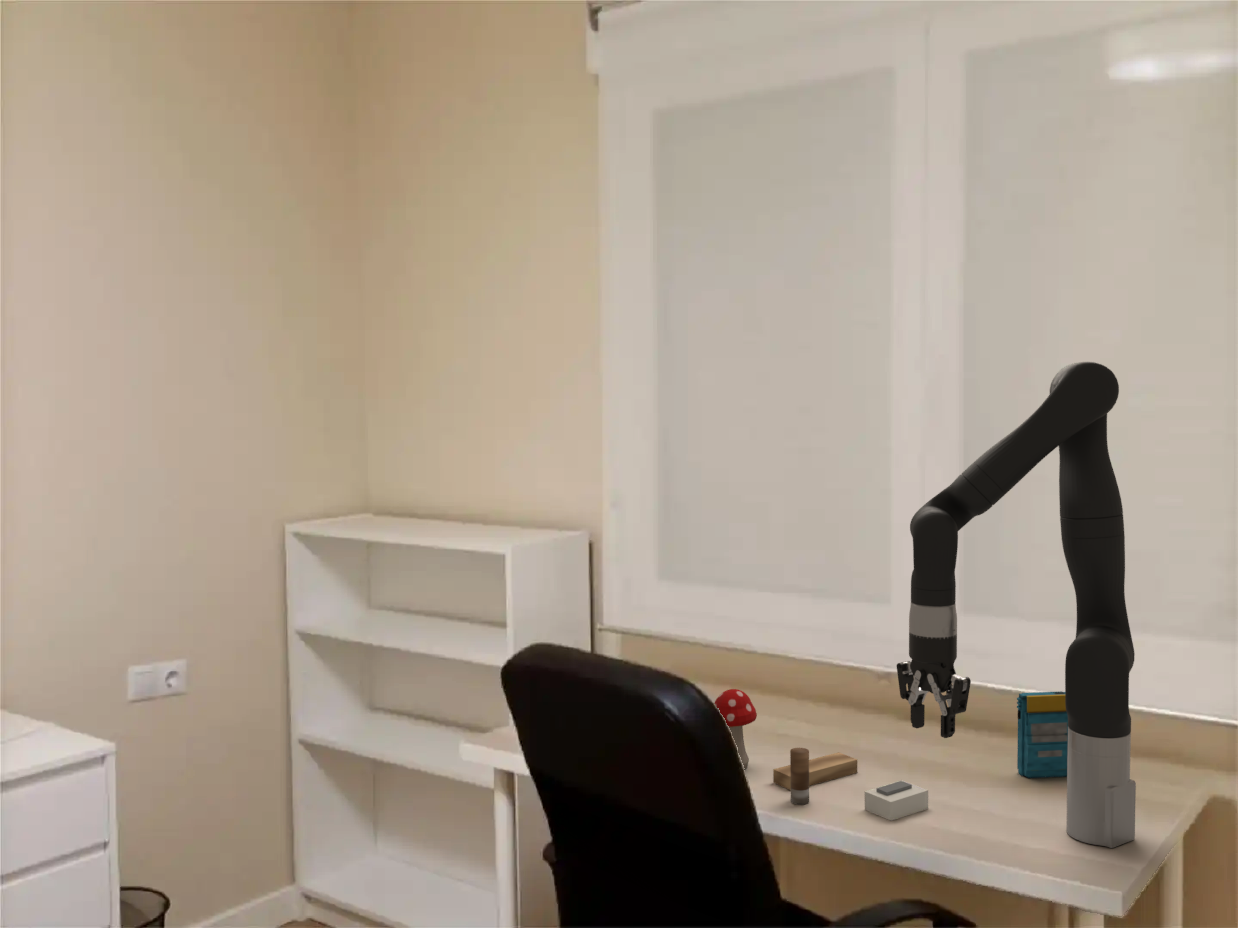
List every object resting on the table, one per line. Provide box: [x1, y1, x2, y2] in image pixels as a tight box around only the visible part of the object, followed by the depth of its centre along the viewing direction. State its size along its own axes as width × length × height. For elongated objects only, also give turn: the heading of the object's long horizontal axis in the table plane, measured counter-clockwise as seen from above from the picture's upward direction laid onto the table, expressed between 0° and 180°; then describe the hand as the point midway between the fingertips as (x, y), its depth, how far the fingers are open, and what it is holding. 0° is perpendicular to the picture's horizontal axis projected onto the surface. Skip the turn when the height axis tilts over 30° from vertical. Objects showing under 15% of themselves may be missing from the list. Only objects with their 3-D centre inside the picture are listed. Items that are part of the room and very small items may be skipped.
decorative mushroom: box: [713, 688, 758, 770], centre depth 215 cm, size 10×9×15 cm
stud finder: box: [864, 779, 929, 821], centre depth 194 cm, size 6×9×4 cm, turn 123°
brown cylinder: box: [789, 747, 810, 806], centre depth 198 cm, size 3×3×9 cm
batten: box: [772, 752, 858, 791], centre depth 210 cm, size 5×16×2 cm, turn 122°
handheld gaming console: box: [1016, 690, 1068, 779], centre depth 208 cm, size 10×4×15 cm, turn 94°
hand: (932, 731), depth 186 cm, fingers open, 5 cm apart
